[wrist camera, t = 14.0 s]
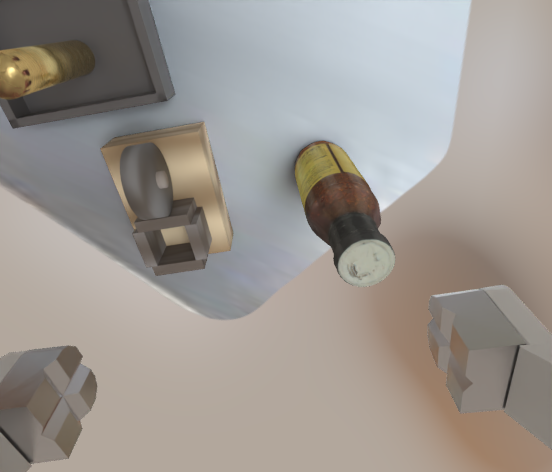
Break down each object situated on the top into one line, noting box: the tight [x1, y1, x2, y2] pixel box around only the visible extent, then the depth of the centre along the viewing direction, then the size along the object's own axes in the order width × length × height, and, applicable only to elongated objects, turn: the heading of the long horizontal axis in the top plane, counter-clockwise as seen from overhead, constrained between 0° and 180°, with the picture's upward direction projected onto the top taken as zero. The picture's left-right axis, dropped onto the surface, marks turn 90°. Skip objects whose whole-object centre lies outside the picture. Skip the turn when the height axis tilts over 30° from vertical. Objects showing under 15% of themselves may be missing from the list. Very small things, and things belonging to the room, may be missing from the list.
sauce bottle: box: [295, 141, 395, 287], centre depth 34 cm, size 6×6×20 cm
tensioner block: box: [100, 122, 233, 276], centre depth 38 cm, size 14×10×11 cm
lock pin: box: [0, 40, 95, 100], centre depth 30 cm, size 3×3×12 cm
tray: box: [0, 0, 175, 128], centre depth 34 cm, size 16×12×4 cm
